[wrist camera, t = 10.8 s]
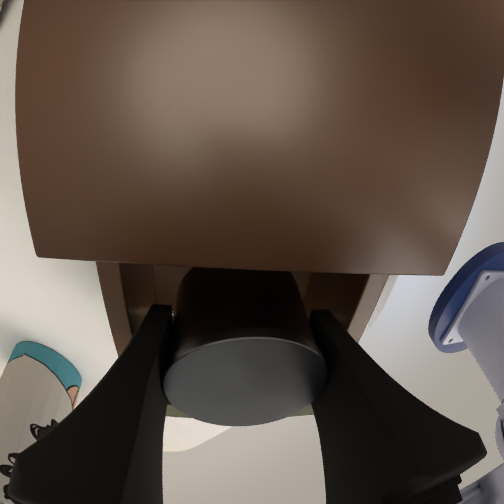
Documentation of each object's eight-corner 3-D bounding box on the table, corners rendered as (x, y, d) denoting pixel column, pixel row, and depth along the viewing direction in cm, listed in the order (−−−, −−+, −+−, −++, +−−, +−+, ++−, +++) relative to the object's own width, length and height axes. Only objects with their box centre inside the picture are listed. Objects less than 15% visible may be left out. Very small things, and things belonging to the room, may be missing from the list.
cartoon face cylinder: (23, 376, 21) (-15, 512, 8) (6, 331, 18) (-54, 493, 5) (84, 398, 23) (60, 545, 10) (77, 356, 19) (37, 542, 7)
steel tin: (313, 251, 11) (351, 335, 7) (287, 344, 13) (305, 423, 10) (172, 243, 10) (153, 333, 7) (176, 341, 12) (169, 424, 9)
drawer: (305, 345, 19) (327, 422, 14) (140, 340, 18) (126, 422, 13) (372, 102, 11) (459, 129, 7) (124, 75, 10) (53, 81, 5)
